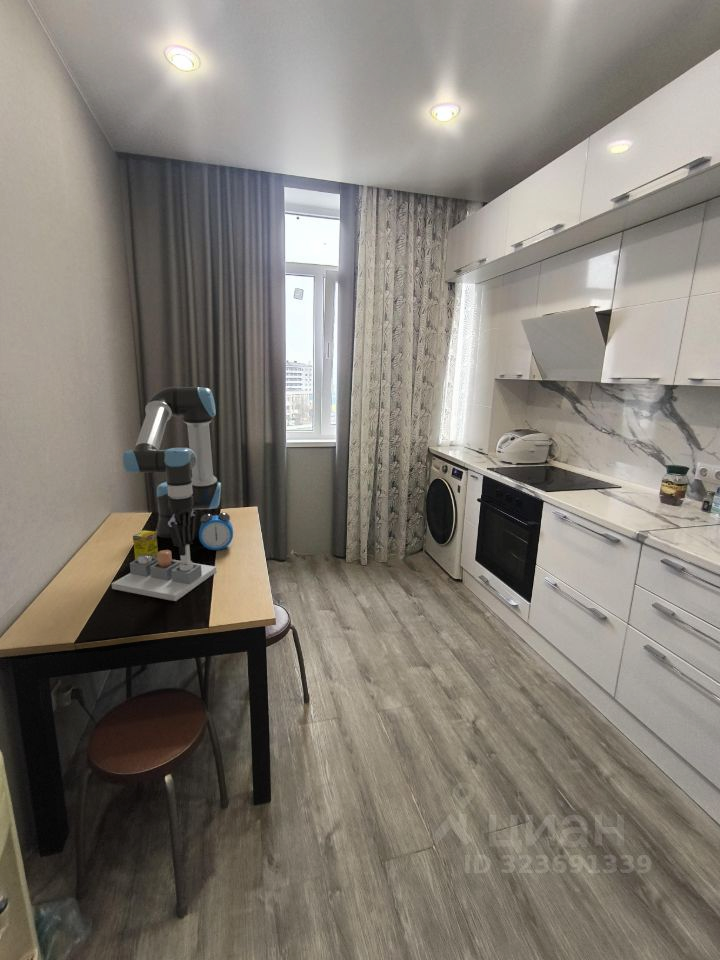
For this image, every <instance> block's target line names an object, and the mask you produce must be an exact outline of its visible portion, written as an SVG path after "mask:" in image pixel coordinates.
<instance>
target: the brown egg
mask: <svg viewBox="0 0 720 960" xmlns="http://www.w3.org/2000/svg"><path fill="white" fill-rule="evenodd" d="M157 557H158V567H162V568H168V567H169V566H171V565H172V560H173V558H172V551H171V550H169V549H164V550H160V551H159V550H158V553H157Z"/></svg>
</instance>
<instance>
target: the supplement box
mask: <svg viewBox="0 0 720 960" xmlns="http://www.w3.org/2000/svg"><path fill="white" fill-rule="evenodd" d="M132 542H133V549H134V550H133V551H134V561H135V560H137V559H138V558H137V557H138V556H139V555H142V554H151V556H152V557H156V558H158V557H157V553H158V552H159V547H158V536H157V535H156V531H154V530H153V531H152V530H145V529H144V530H141V531H140V532H138V533H135V534H132Z"/></svg>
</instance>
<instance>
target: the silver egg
mask: <svg viewBox="0 0 720 960" xmlns="http://www.w3.org/2000/svg"><path fill="white" fill-rule="evenodd" d="M190 561H191V562H190V563H189V564H184V563H181V562H180V563H179V571H185V572H189V571H190V570H192V569H193V563H194V562H193V561H192V560H190Z"/></svg>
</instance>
